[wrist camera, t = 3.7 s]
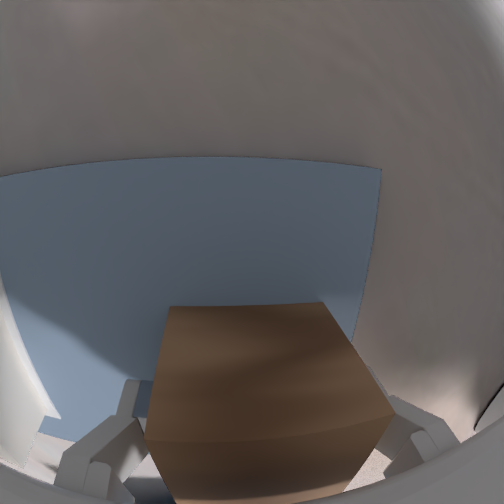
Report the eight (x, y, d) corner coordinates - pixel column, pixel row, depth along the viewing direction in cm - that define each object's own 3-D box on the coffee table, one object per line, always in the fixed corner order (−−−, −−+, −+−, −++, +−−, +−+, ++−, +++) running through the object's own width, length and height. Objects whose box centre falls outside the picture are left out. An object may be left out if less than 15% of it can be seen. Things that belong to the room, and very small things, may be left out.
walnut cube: (323, 301, 9) (395, 412, 5) (303, 400, 11) (337, 497, 6) (169, 306, 9) (143, 439, 4) (184, 407, 10) (182, 513, 6)
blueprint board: (369, 167, 9) (383, 169, 8) (312, 435, 14) (316, 447, 13) (-96, 204, 6) (-105, 208, 5) (-29, 396, 10) (-34, 403, 10)
